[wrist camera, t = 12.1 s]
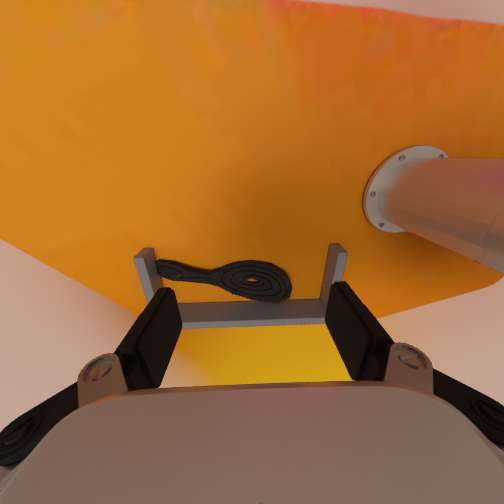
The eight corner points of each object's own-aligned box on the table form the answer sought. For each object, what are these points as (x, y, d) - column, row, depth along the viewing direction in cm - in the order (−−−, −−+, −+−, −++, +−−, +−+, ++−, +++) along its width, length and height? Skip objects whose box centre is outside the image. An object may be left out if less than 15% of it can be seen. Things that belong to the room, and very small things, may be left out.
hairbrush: (143, 250, 30) (299, 277, 32) (155, 240, 33) (295, 266, 35) (146, 292, 33) (285, 314, 35) (156, 280, 37) (283, 301, 38)
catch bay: (338, 243, 33) (353, 257, 29) (325, 304, 39) (336, 323, 35) (143, 248, 32) (127, 262, 28) (161, 309, 38) (150, 330, 34)
